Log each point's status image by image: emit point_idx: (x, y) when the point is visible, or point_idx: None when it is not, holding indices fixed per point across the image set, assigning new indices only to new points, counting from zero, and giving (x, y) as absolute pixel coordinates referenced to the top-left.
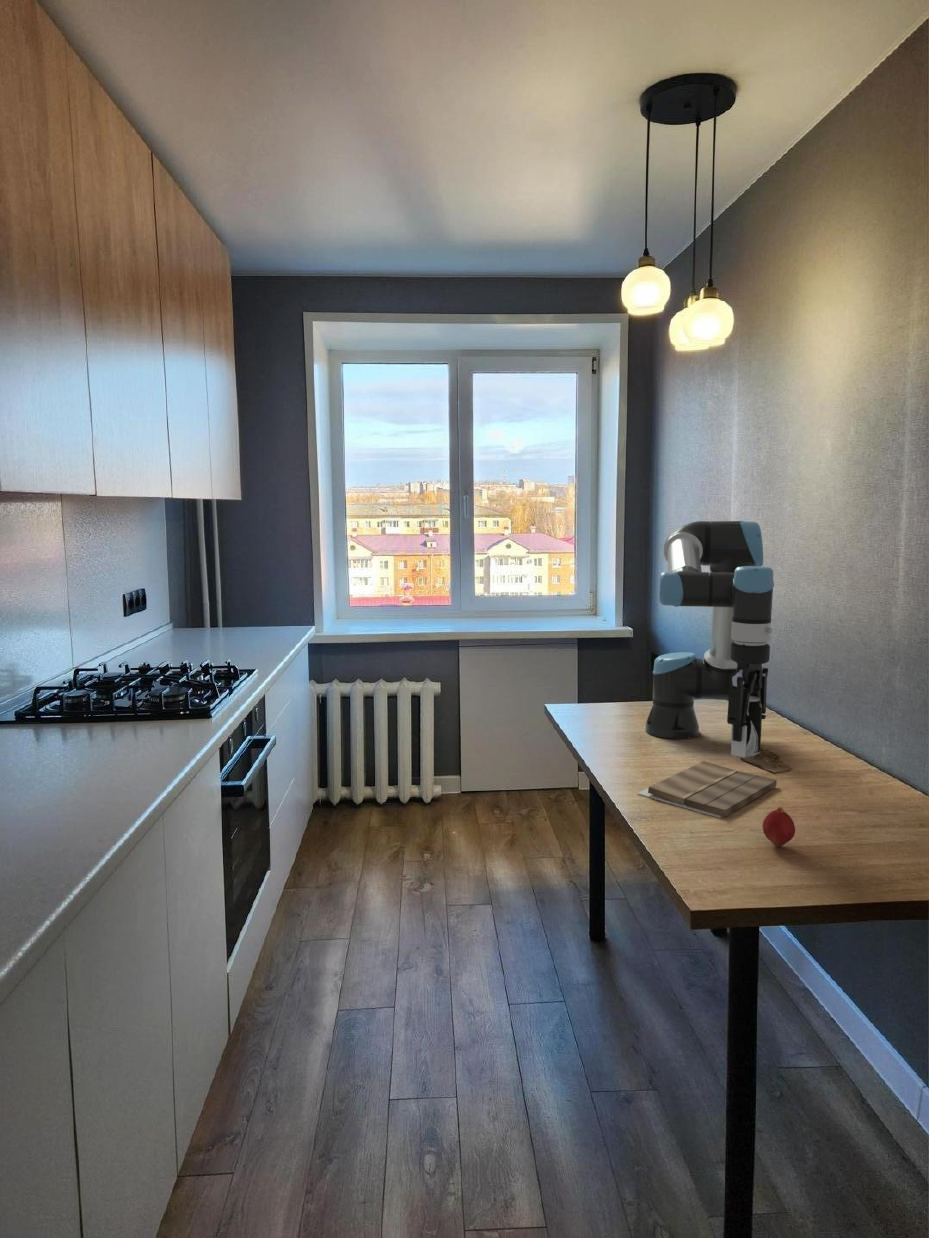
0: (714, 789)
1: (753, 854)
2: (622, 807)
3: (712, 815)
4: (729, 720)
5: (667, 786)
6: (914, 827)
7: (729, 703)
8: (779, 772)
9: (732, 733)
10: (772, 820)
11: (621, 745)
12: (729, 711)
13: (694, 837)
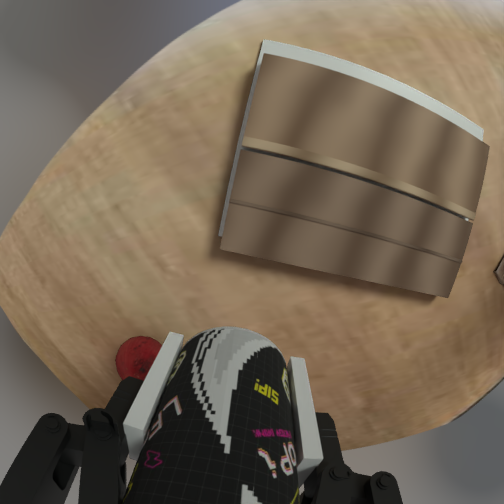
0: (347, 194)
1: (103, 316)
2: (169, 47)
3: (222, 218)
4: (44, 428)
5: (298, 88)
6: None
7: (3, 489)
8: (498, 278)
9: (141, 389)
10: (117, 364)
11: (488, 9)
12: (21, 459)
13: (101, 219)
